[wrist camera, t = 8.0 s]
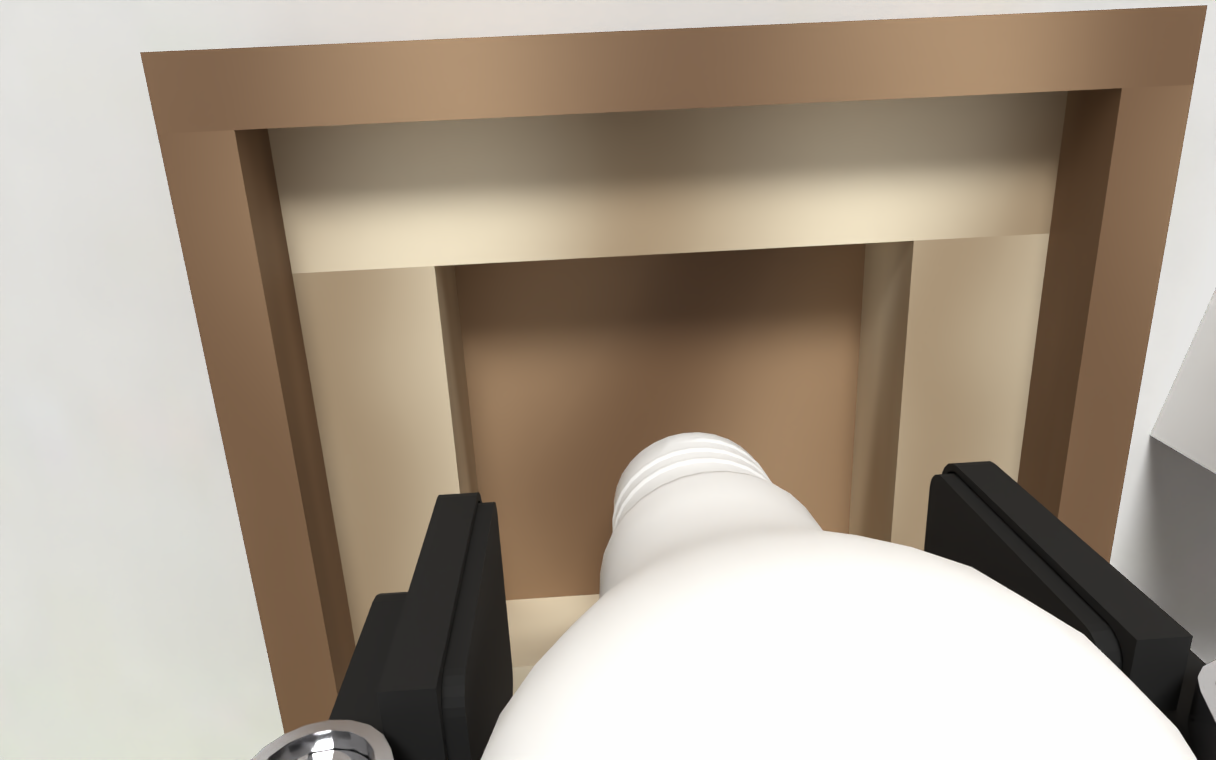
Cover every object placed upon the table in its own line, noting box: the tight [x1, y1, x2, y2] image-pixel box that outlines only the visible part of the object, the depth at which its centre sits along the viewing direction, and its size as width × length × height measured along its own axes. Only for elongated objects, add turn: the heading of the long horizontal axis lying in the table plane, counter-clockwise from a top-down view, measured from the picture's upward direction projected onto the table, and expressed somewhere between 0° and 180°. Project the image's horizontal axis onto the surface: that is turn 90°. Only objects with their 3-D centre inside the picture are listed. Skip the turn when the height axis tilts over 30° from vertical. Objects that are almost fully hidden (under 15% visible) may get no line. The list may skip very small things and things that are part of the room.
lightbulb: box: [481, 432, 1197, 760], centre depth 9 cm, size 6×6×11 cm
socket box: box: [140, 5, 1207, 734], centre depth 15 cm, size 14×14×4 cm
